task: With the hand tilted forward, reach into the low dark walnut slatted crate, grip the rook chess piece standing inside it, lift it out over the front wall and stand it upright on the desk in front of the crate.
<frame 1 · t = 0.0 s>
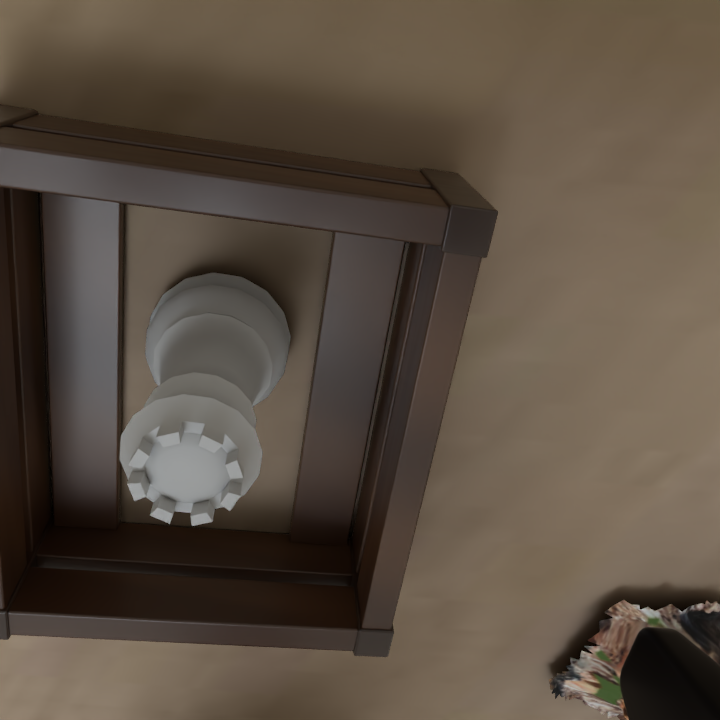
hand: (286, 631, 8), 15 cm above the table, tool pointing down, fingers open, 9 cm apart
plant with pod: (669, 653, 31), on the table
rook chess piece: (222, 330, 22), resting in crate
crate: (218, 374, 23), on the table
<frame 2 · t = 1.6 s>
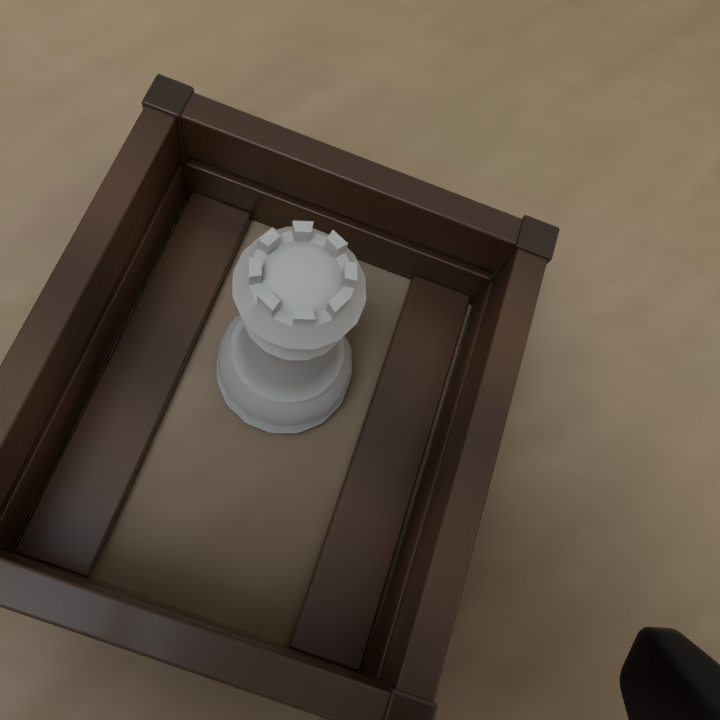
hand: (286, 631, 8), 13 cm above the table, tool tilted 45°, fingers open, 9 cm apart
rook chess piece: (283, 374, 23), resting in crate
crate: (267, 413, 23), on the table
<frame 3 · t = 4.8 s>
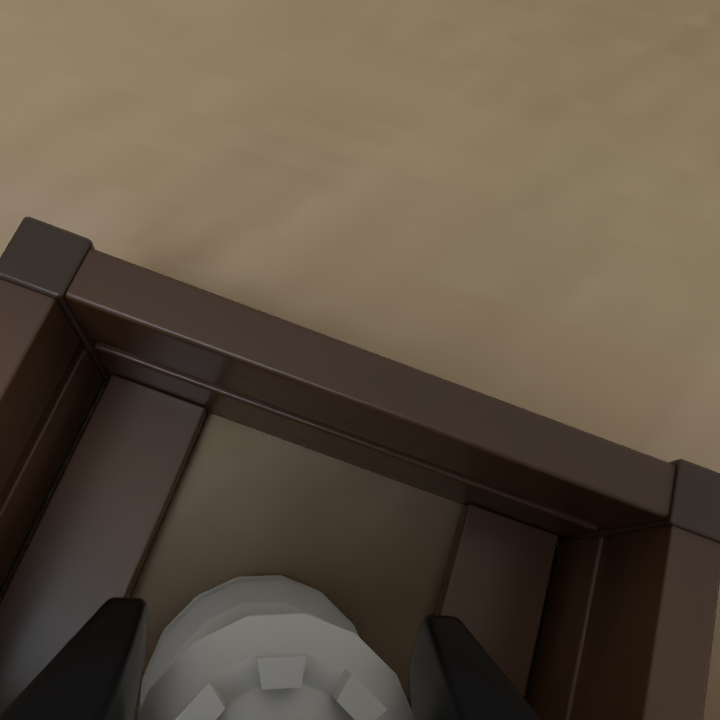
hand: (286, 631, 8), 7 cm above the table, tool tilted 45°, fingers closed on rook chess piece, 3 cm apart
rook chess piece: (257, 688, 14), resting in crate, touching gripper
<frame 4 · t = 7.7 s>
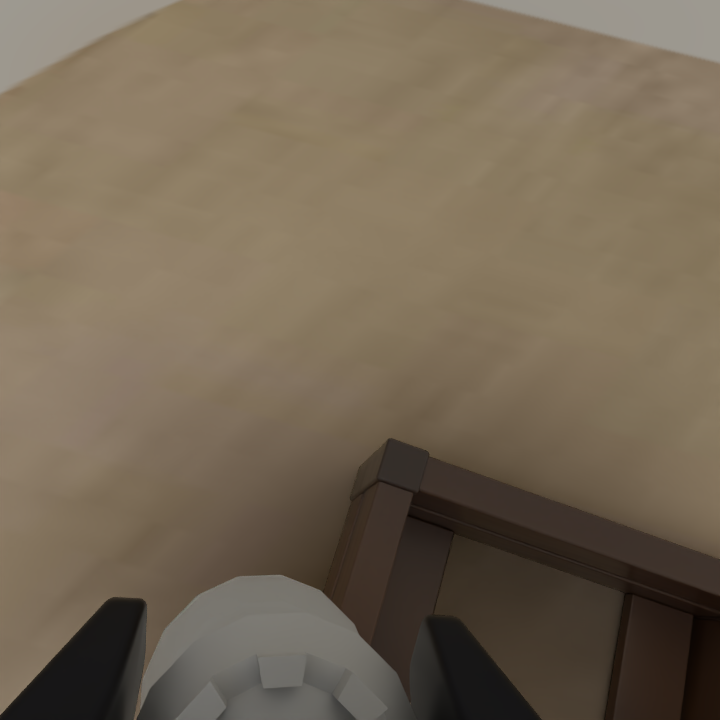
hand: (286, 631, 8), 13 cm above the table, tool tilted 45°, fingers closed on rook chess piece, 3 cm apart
rook chess piece: (257, 688, 14), point 7 cm above the table, touching gripper
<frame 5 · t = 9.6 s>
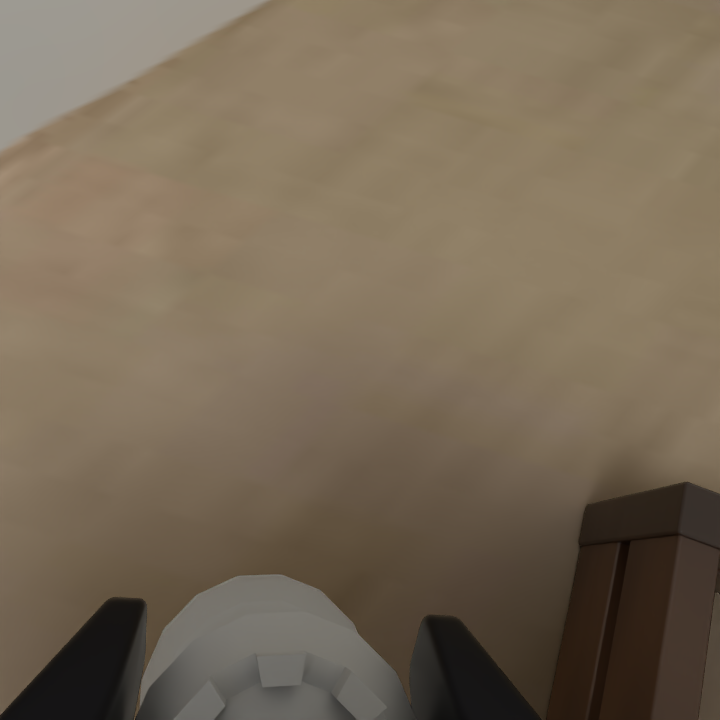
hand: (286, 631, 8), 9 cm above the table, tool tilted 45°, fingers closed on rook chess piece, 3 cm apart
rook chess piece: (257, 687, 14), point 3 cm above the table, touching gripper
when the fingers open (7 cm above the table, at t = 10.7 s): rook chess piece stays where it is, on the table.
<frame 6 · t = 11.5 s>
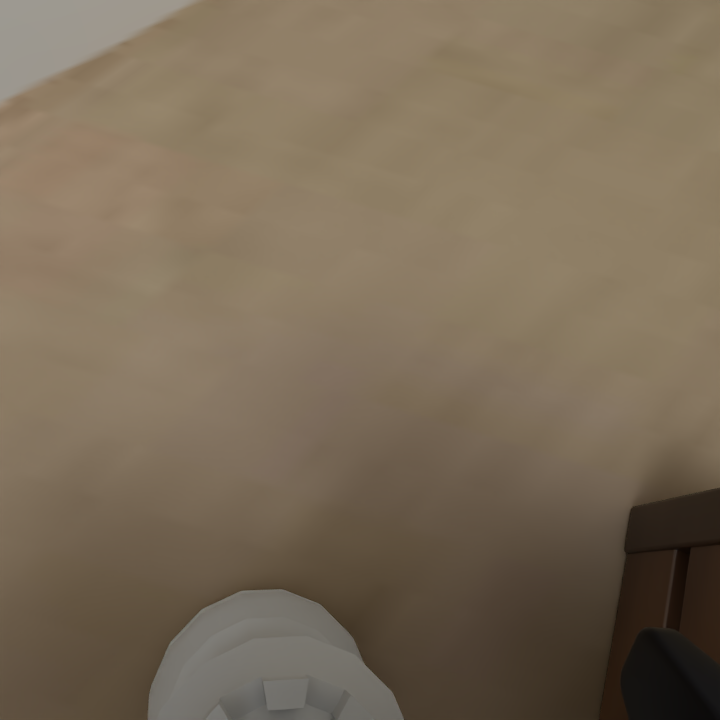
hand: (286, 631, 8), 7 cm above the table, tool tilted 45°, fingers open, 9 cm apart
rook chess piece: (260, 698, 15), on the table
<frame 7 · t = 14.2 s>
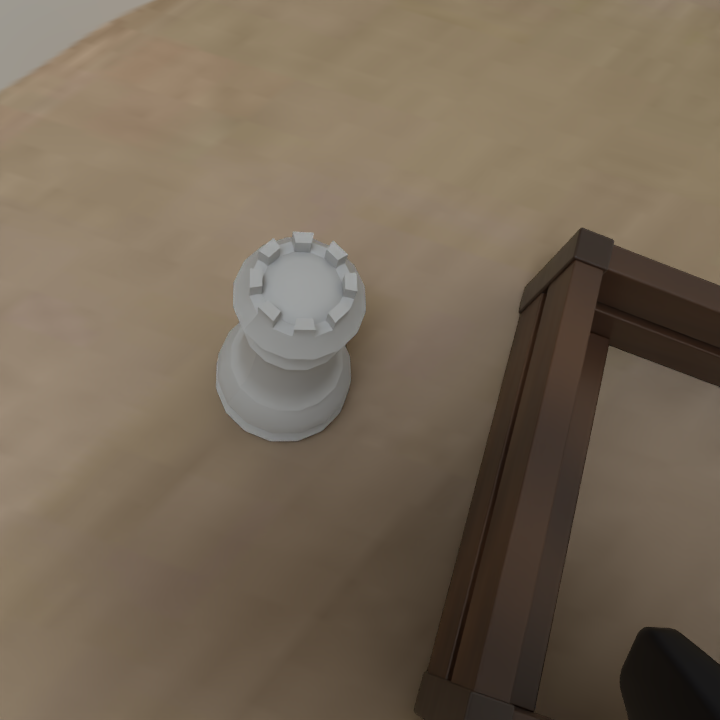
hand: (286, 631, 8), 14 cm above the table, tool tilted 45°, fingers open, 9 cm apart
rook chess piece: (282, 382, 24), on the table
crate: (652, 539, 24), on the table
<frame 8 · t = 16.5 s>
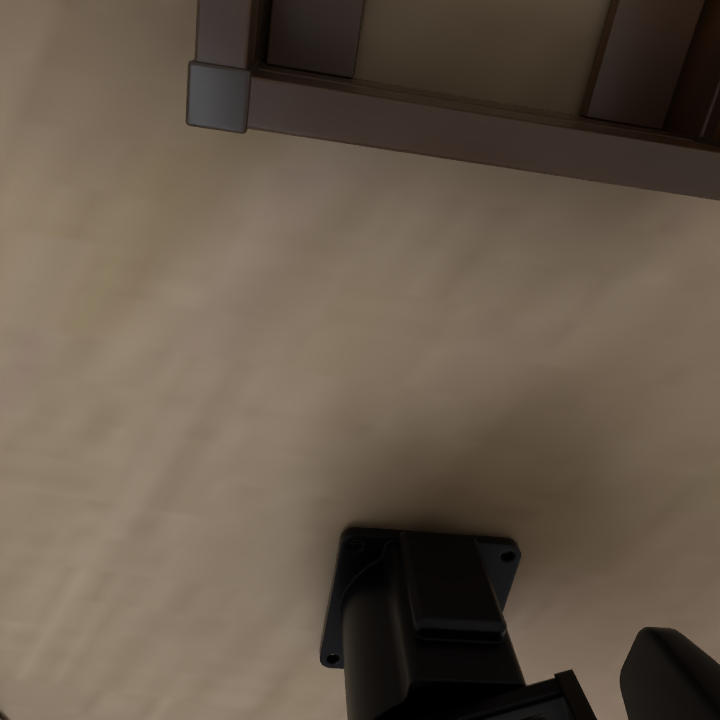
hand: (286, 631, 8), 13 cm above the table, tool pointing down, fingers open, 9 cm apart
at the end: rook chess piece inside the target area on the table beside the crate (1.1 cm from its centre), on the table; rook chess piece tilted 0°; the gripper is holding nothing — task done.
